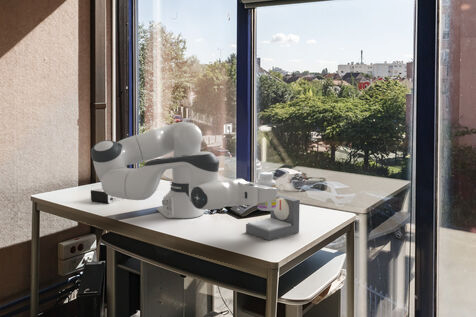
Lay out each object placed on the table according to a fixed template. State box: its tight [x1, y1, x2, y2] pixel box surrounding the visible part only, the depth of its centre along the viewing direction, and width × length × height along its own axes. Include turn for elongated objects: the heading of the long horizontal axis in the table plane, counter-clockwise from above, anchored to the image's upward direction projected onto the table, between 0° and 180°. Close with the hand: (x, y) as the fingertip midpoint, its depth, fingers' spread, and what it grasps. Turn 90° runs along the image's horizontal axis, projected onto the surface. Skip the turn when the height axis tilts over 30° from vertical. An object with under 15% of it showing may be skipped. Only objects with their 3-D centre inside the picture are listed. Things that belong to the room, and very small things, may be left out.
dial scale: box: [245, 194, 301, 241], centre depth 144 cm, size 12×15×12 cm
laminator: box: [90, 187, 125, 205], centre depth 205 cm, size 34×12×6 cm, turn 152°
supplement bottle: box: [256, 171, 277, 212], centre depth 141 cm, size 7×7×13 cm
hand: (268, 187), depth 142 cm, fingers closed on supplement bottle, 7 cm apart
